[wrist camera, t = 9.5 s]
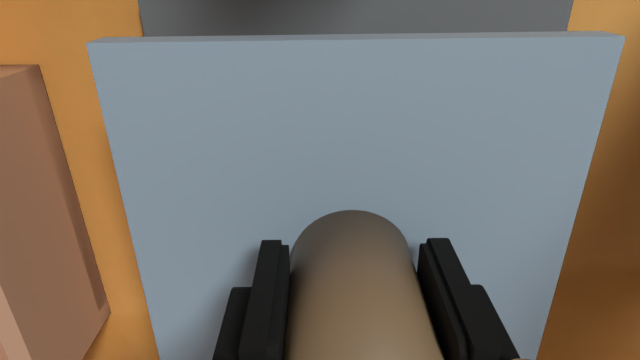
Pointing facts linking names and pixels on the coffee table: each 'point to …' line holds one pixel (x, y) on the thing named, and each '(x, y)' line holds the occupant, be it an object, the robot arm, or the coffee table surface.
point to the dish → (41, 233)
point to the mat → (349, 16)
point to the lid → (351, 175)
